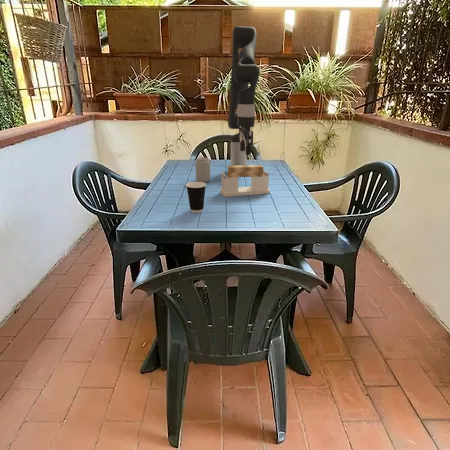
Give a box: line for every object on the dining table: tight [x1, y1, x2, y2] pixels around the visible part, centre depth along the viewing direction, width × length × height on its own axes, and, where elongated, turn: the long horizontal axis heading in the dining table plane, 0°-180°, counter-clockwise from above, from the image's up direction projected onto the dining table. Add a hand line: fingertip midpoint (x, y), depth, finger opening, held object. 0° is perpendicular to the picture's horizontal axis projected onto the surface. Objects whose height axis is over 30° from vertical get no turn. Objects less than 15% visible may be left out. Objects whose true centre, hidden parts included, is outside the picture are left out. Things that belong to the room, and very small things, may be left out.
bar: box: [227, 164, 264, 178], centre depth 160 cm, size 16×4×4 cm, turn 93°
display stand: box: [219, 169, 271, 198], centre depth 162 cm, size 22×8×10 cm, turn 104°
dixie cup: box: [185, 181, 207, 214], centre depth 139 cm, size 8×8×11 cm
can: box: [194, 157, 211, 183], centre depth 182 cm, size 8×8×12 cm
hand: (245, 152), depth 157 cm, fingers open, 8 cm apart
